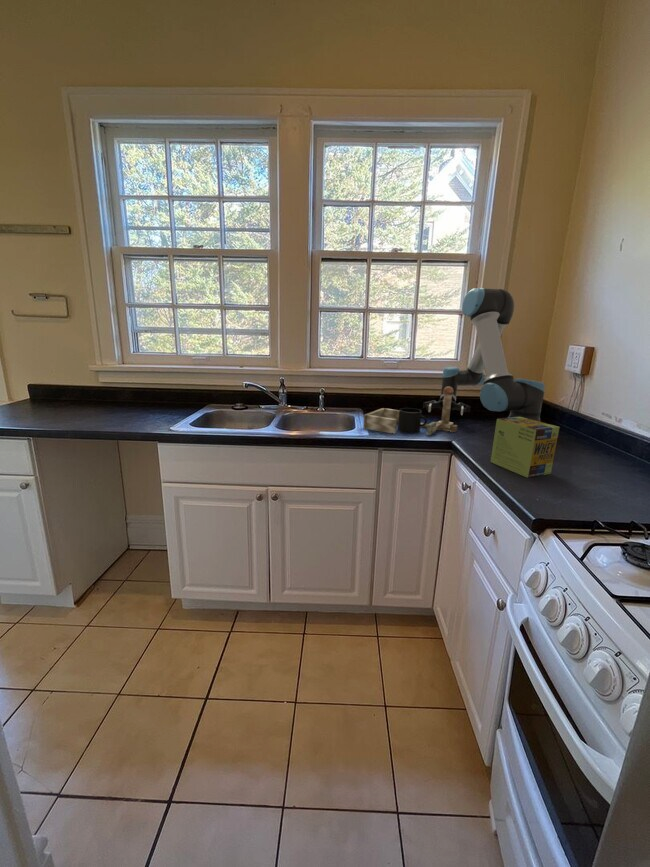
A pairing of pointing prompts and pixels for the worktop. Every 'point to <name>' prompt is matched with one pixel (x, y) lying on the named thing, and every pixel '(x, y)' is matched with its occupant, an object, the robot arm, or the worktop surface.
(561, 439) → the worktop surface
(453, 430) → the rail
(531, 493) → the worktop surface
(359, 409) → the worktop surface
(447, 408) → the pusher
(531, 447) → the protein box
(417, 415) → the mug
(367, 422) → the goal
